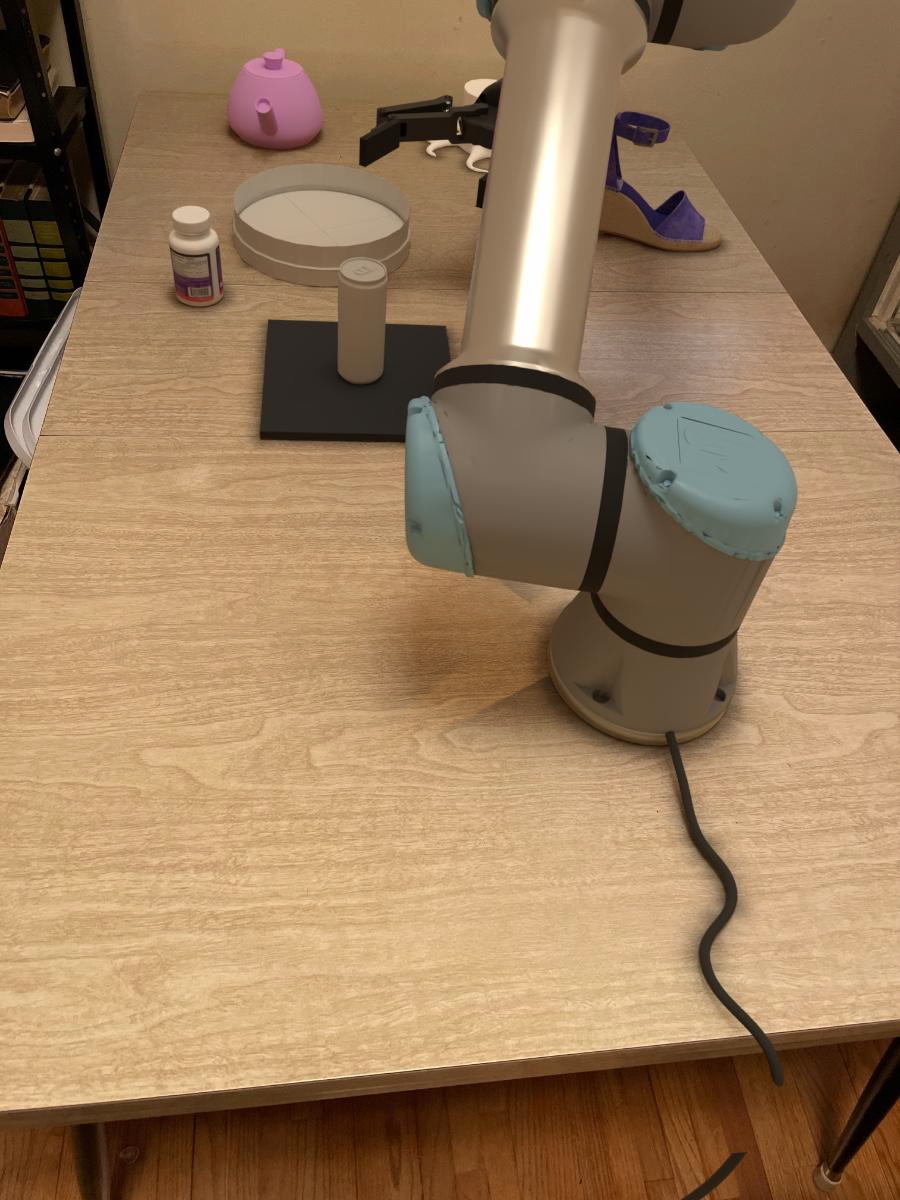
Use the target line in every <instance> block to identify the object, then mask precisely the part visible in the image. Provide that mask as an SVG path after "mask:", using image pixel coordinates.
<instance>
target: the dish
mask: <svg viewBox="0 0 900 1200" xmlns="http://www.w3.org/2000/svg"><path fill="white" fill-rule="evenodd" d="M232 205H233V214H234V215H233V218H232V228H233V229H232V230H233V240H234V245H235V246H234V248H235V250H236V252H237V253H238V254H239V256H240V258H241V259H242V260H243V261H245V262H246V263H247V265H249V266H251V267H252V268H253V269H255V270H256V271H258V272H260V273H262V274H265V275H267V276H269V277H272V278H274V279H277V280H280V281H285V282H289V283H292V284H296V285H301V286H312V287H321V288H325V287H327V288H328V287H338V274H339V271H340V265H341V264H342V263H343V262H344V261H346V260H347V259H351V258H356V257H365V258H371V259H375V260H377V261H379V262H381V263H382V264H384V266H385V267H386V270H387V276H388V275H390V274H391V273H393V272H394V271H396V270H398V269H399V268H400V267H402V265H403V264H404V263H405V261H406V259H407V258H408V257H409V252H410V245H411V231H412V229H411V226H410V220H411V205H410V202H409V199H408V197H407V196H406V194H405V193H404V192H403V191H402V190H401V189H400V188H399V187H398V186H397V185H395V184H393V183H391V182H390V181H389V180H387V179H386V178H384V177H381V176H379V175H376V174H374V173H371V172H368V171H366V170H362V169H357V168H354V167H349V166H346V165H337V164H328V163H298V164H297V163H296V164H288V165H281V166H277V167H272V168H268V169H265V170H262V171H259V172H258V173H256V174H254V175H251V176H249V177H247V178H245V180H244V181H243V182H242V183H241V184H239V185H238V186H237V187H236V189H235V192H234V194H233V196H232Z"/></svg>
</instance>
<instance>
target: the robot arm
mask: <svg viewBox="0 0 900 1200" xmlns="http://www.w3.org/2000/svg"><path fill="white" fill-rule="evenodd" d="M797 1H798V0H475V5H476V10H477V13H478V15H479V16H480V17H481V18H483V19H486V20H487V21H488V22H489V23H490V26H489V27H490V36H491V39H492V43H493V45H494V47H495V49H496V50H497V51H496V52H497V53H498V54H499V55H500V56H501V57H502V59H503V60H504V68H503V69H504V70H503V74H502V77H501V78H499V79H497V80H498V81H496V82H494V83H492V84H491V85H489V86H488V87H486V88H485V89H484V90H483V91H482V93H481V94H480V95H479V97H478V98H477V100H476V101H475V103H474V104H472V105H465V106H457V105H455V104H453V101H454V96H452V95H450V94H443V95H441V96H439V97H436V98H434V99H428V100H421V101H414V102H408V103H399V104H394V105H387V106H381V107H377V108H376V117H375V118H376V121H375V127H373V128H371V129H370V130H369V132H368V133H365V134H363V135H362V136H360V137H359V153H358V166H361V167H363V168H367V167H369V166H371V165H372V164H373V163H375V162H377V161H379V160H380V159H382V158H384V157H386V156H387V155H389V154H390V153H392V152H394V151H396V150H397V149H399V148H400V144H401V143H413V142H415V143H416V142H426V141H436V140H448V141H449V142H450V143H451V144H472V145H475V146H476V145H480V146H482V147H484V148H486V149H489V150H492V151H491V157H490V158H489V164H488V170H487V171H488V173H487V172H486V174H484V175H482V176H481V177H480V178H479V179H478V183H477V192H476V193H477V194H476V200H475V207H476V208H478V209H481V216H480V221H479V226H478V227H479V228H478V234H477V241H476V248H475V253H474V259H473V265H472V272H471V280H470V285H469V292H468V298H467V305H466V311H465V316H464V323H463V330H462V336H461V343H460V349H459V354H458V356H456V358H454V359H453V360H451V362H450V363H448V364H447V365H445V366H444V367H442V368H441V369H439V370H438V371H437V373H436V375H435V377H434V383H433V389H432V395H431V399H429V398H428V397H426V396H422V397H420V398H415V399H412V400H411V401H410V402H409V404H408V416H407V424H406V441H405V442H404V444H405V445H404V533H405V534H404V535H405V542H406V543H405V544H406V547H407V549H408V552H409V554H410V556H412V558H413V559H414V560H415V561H416V562H418V563H419V564H421V565H423V566H425V567H427V568H433V569H439V570H443V571H448V572H452V573H457V574H462V575H465V577H466V578H470V579H474V578H475V576H477V577H478V576H479V577H485V578H490V579H498V580H504V581H511V582H517V583H523V584H529V585H536V586H542V587H543V586H544V587H549V588H556V589H562V590H568V591H575V592H576V591H577V592H578V593H577V594H576V595H575V596H574V598H573V599H572V600H571V601H570V602H569V603H568V604H567V605H565V607H564V608H563V610H562V611H561V612H560V614H559V615H558V618H557V619H556V621H555V622H554V625H553V627H552V630H551V634H550V638H549V642H548V646H547V647H548V648H547V653H546V655H547V657H546V659H547V668H548V672H549V676H550V679H551V681H552V684H553V686H554V688H555V689H556V692H557V693H558V695H559V696H560V698H561V699H562V700H563V701H564V703H565V704H566V705H567V706H568V708H570V710H571V711H572V712H574V713H575V714H576V715H577V716H578V717H579V718H580V719H581V720H583V721H584V722H586V723H587V724H588V725H590V726H592V727H593V728H595V729H597V730H599V731H601V732H602V733H604V734H607V735H609V736H611V737H613V738H616V739H619V740H622V741H625V742H629V743H632V744H633V743H634V744H639V745H646V746H647V745H648V746H668V750H669V754H670V756H671V761H672V764H673V768H674V773H675V776H676V780H677V783H678V787H679V792H680V797H681V803H682V807H683V811H684V815H685V819H686V822H687V826H688V828H689V830H690V833H691V835H692V837H693V839H694V842H695V843H696V845H697V846H698V847H699V849H700V851H702V853H703V854H704V856H706V858H707V859H708V860H709V861H710V862H711V864H712V865H713V866H714V867H715V868H716V870H717V872H718V873H719V874H720V876H721V877H722V879H723V881H724V885H725V888H726V889H725V890H726V899H725V903H724V906H723V908H722V909H721V911H720V913H718V915H717V917H716V918H715V919H714V920H713V921H712V923H711V924H710V925H709V926H708V928H707V929H706V930H705V932H704V934H703V936H702V938H701V940H700V944H699V948H698V960H699V961H698V962H699V967H700V969H701V973H702V975H703V977H704V980H705V982H706V984H707V985H708V987H709V989H710V990H711V992H712V993H713V994H714V996H715V997H716V998H717V999H718V1001H719V1002H720V1003H721V1004H722V1005H723V1006H724V1007H725V1009H726V1010H727V1011H728V1012H729V1013H730V1014H731V1015H732V1016H733V1017H734V1018H735V1019H736V1020H737V1021H738V1022H739V1023H740V1024H741V1025H742V1026H743V1027H744V1028H745V1029H746V1030H747V1031H748V1032H749V1034H750V1035H751V1036H752V1037H753V1038H754V1039H755V1041H756V1042H757V1044H758V1045H759V1047H760V1048H761V1050H762V1052H763V1054H764V1055H765V1059H766V1061H767V1063H768V1067H769V1071H770V1076H771V1080H772V1082H773V1083H774V1085H775V1086H777V1087H778V1088H780V1087H783V1086H784V1083H785V1079H784V1078H785V1077H784V1071H783V1067H782V1064H781V1061H780V1057H779V1055H778V1053H777V1050H776V1049H775V1047H774V1045H773V1043H772V1041H771V1039H769V1037H768V1036H767V1034H766V1033H765V1032H764V1030H763V1029H762V1027H760V1026H759V1024H758V1023H757V1022H756V1021H755V1020H754V1019H753V1017H751V1016H750V1014H748V1012H746V1011H745V1010H744V1008H742V1007H741V1006H740V1005H739V1004H738V1002H736V1001H735V999H734V998H732V997H731V995H730V994H729V993H728V992H727V990H725V988H724V987H723V986H722V985H721V983H720V982H719V980H718V978H717V976H716V974H715V971H714V969H713V966H712V965H713V964H712V961H711V950H712V946H713V943H714V941H715V939H716V937H717V936H718V934H719V933H720V932H721V931H722V930H723V928H724V927H725V926H726V925H727V924H728V922H729V921H730V919H731V918H732V917H733V915H734V913H735V912H736V909H737V905H738V900H739V899H738V898H739V896H738V887H737V884H736V880H735V877H734V875H733V874H732V871H731V870H730V868H729V866H728V865H727V864H726V863H725V861H724V860H723V859H722V858H721V856H720V855H719V854H718V853H717V852H716V851H715V849H714V848H713V847H712V846H711V845H710V844H709V842H708V841H707V839H706V838H705V836H704V834H703V832H702V829H701V828H700V825H699V822H698V818H697V816H696V812H695V807H694V804H693V803H694V802H693V800H692V794H691V790H690V785H689V781H688V777H687V774H686V773H687V772H686V769H685V765H684V762H683V759H682V756H681V752H680V748H679V745H678V744H681V743H685V742H688V741H692V740H694V739H696V738H698V737H701V736H702V735H704V734H706V733H707V732H708V731H710V730H712V728H713V727H715V726H716V724H717V723H718V722H719V721H720V720H721V719H722V717H723V716H724V715H725V712H726V711H727V708H728V707H729V704H730V703H731V701H732V699H733V696H734V694H735V691H736V686H737V681H738V672H739V670H738V667H739V666H738V664H739V663H738V662H739V661H738V652H739V651H738V650H739V649H738V648H739V647H738V646H739V645H738V632H739V630H740V628H741V626H742V623H743V621H744V620H745V617H746V616H747V613H748V611H749V610H750V608H751V606H752V603H753V601H754V599H755V597H756V596H757V594H758V591H759V589H760V588H761V586H762V583H763V581H764V580H765V578H766V575H767V573H768V571H769V570H770V567H771V565H772V563H773V561H774V560H775V558H776V556H777V555H778V554H779V552H780V551H781V550H782V549H783V547H784V545H785V542H786V537H787V532H788V531H787V530H788V529H789V525H790V523H791V520H792V517H793V515H794V513H795V511H796V507H797V503H798V497H799V496H798V483H797V478H796V475H795V472H794V469H793V468H792V465H791V463H790V462H789V460H788V459H787V457H786V455H785V454H784V453H783V451H782V450H781V449H780V448H779V446H778V445H777V444H776V443H775V442H774V441H773V440H771V439H770V438H769V437H767V436H766V435H764V434H763V433H762V431H761V430H760V429H759V428H758V427H756V426H755V425H754V424H752V423H750V422H749V421H747V420H745V419H743V418H742V417H740V416H737V415H735V414H734V413H731V412H729V411H726V410H724V409H721V408H718V407H715V406H712V405H709V404H705V403H700V402H693V401H671V402H667V403H665V404H664V405H663V406H661V405H657V406H654V407H651V408H649V409H648V410H647V411H645V412H644V413H643V414H642V415H641V417H640V418H638V420H637V421H636V422H634V426H633V427H632V428H631V429H629V428H621V427H614V426H606V425H602V424H598V423H595V414H596V409H597V408H596V407H597V395H596V392H595V391H594V390H593V388H592V387H591V386H590V385H589V384H588V382H587V381H586V380H585V379H584V378H583V377H582V375H581V373H580V365H581V357H582V351H583V343H584V337H585V331H586V323H587V315H588V308H589V302H590V293H591V288H592V279H593V274H594V266H595V260H596V253H597V245H598V238H599V234H598V232H599V225H600V218H601V211H602V204H603V197H604V190H605V183H606V176H607V169H608V162H609V155H610V148H611V141H612V134H613V127H614V120H615V117H616V113H617V105H618V100H619V99H618V98H619V91H620V84H621V79H622V78H621V77H622V76H623V75H624V74H626V73H628V72H629V71H630V70H631V69H633V67H635V66H636V65H637V64H638V63H639V61H640V59H641V58H642V57H643V54H644V52H645V50H646V46H647V44H648V43H649V44H656V45H663V46H672V47H678V48H684V49H691V50H693V51H697V52H698V51H700V52H705V51H711V52H722V51H724V50H726V49H727V48H728V47H729V46H732V45H741V44H745V43H749V42H753V41H755V40H758V39H759V38H760V39H761V38H762V37H763V36H765V35H766V34H769V33H770V32H771V31H773V30H774V29H775V28H776V27H778V26H779V25H780V23H782V22H783V21H784V20H785V18H786V17H787V16H788V15H789V13H790V12H791V10H792V9H793V8H794V7H795V5H796V3H797ZM458 121H459V122H458ZM458 123H459V127H460V131H461V134H460V135H457V134H458V130H457V125H458ZM747 1154H748V1151H742V1152H741V1151H740V1152H732V1153H731V1154H730V1155H729V1156H728V1157H727V1158H726V1159H725V1161H724V1162H723V1163H722V1164H721V1166H719V1168H717V1169H716V1171H714V1172H713V1174H712V1175H710V1176H709V1177H708V1178H707V1179H706V1180H705V1181H704V1182H702V1183H701V1184H700V1185H699V1186H697V1187H696V1188H695V1189H694V1190H692V1191H691V1192H690V1193H688V1194H687V1195H685V1196H683V1198H681V1199H680V1200H703V1198H705V1197H706V1196H708V1195H709V1194H710V1193H711V1192H713V1191H714V1190H715V1189H717V1187H718V1186H719V1185H721V1184H722V1183H723V1182H724V1181H725V1180H726V1179H727V1178H728V1177H729V1176H730V1175H731V1173H732V1172H733V1171H734V1170H735V1169H736V1168H737V1167H738V1166H739V1164H740V1163H741V1162H742V1161H743V1159H744V1157H745V1156H746V1155H747Z"/></svg>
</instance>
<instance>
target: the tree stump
mask: <svg viewBox="0 0 900 1200" xmlns="http://www.w3.org/2000/svg"><path fill="white" fill-rule="evenodd" d="M498 80H499V79H494V78H493V79H491V78H477V79H471V80H469V81H468V82H466V83H465V84H464V86H463V96H462V106H465V105H472V104H474V103H475V101H476V100H477V98H478V97H479V95H480V94H481V93H482V91H483V90H484V89H485V88H486V87H488V86H489V85H491V84H492V83H494V82H496V81H498ZM462 106H461V107H462ZM458 122H459V120H458ZM460 134H461V131H460V127H459V123H458V125H457V135H460ZM425 142H426V143H428V144H429V145H428V146H427V147H426V153H427V154H428V155H430V156H431V157H432V156H433V157H437V155H436V153H435V152H434V151H435V150H438V149H442V148H445V147H451V146H457V147H459V148H460V149H462V150H463V151H464V152H466V153H467V154H469V156H468V158H467V159H466V161H465V162H466V163H465V165H466V166H467V168H468V169H469V170H471V171H474V172H479V173H486V174H487V173H488V170H487V169H482V168H478V167H475V166H473V165H474V163H476V162H478V161H481V160H483V159H487V158H488V159H490V157H491V151H492V150H489V149H486V148H484V147H482V146H480V145H476V146H475V145H472V144H451V143H450V142H449V141H448V140H436V141H425Z"/></svg>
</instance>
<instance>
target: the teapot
mask: <svg viewBox="0 0 900 1200" xmlns="http://www.w3.org/2000/svg"><path fill="white" fill-rule="evenodd" d="M228 96H229V97H228V101H227V109H226V110H227V111H226V115H227V116H226V118H227V122H228V124H229V126H230V128H231V129H232V130H233V131H234V132H235V134H236V135H237V136H239V138H240V139H241V140H243V141H244V142H246V143H247V144H250V145H253V146H257V147H260V148H265V149H272V150H273V149H274V150H286V149H288V150H289V149H294V148H295V149H297V148H300V147H303V146H306V145H307V144H309V143H310V142H312V141H313V140H314V139H315V138H316V137H317V135H318V134H319V132H320V131H321V130H322V127H323V125H324V114H323V108H322V104H321V100H320V99H319V98H320V97H319V95H318V93H317V90H316V87H315V86H314V84H313V82H312V80H311V79H310V78H309V76H308V74H307V73H306V71H305V69H304V68H303V67H302V66H301V65H300V64H299V63H297V62H296V61H294V60H291V59H287V55H286V51H285V49H283V48H281V47H278V48H275V49H274V51H266V52H264V53H263V54H262V56H261V57H255V58H252V59H250V60H249V61H247V62H246V63H245V64H244V65H243V67H242V69H241V70H240V71H239V73H238V75H237V77H236V79H235V81H234V83H233V84H232V87H231V90H230V92H229V95H228Z"/></svg>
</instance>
